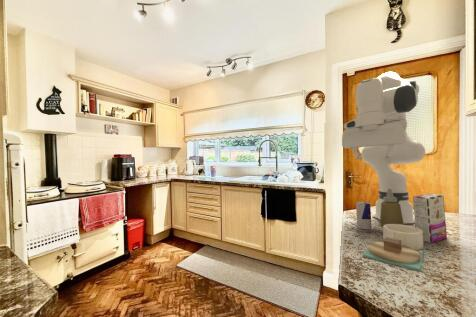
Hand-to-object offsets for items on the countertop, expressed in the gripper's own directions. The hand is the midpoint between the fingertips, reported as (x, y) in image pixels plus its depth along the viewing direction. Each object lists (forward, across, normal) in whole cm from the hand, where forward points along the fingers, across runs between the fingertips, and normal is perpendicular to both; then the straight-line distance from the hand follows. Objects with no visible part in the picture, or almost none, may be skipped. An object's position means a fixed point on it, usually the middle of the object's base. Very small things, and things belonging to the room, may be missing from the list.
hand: (372, 158), depth 76 cm
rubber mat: (+31, -6, +9) cm, 33 cm away
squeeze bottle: (+31, -2, -17) cm, 36 cm away
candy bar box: (+31, -14, -16) cm, 38 cm away
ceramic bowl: (+31, -7, -4) cm, 32 cm away
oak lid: (+30, -6, +9) cm, 32 cm away
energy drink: (+31, +7, -12) cm, 34 cm away
